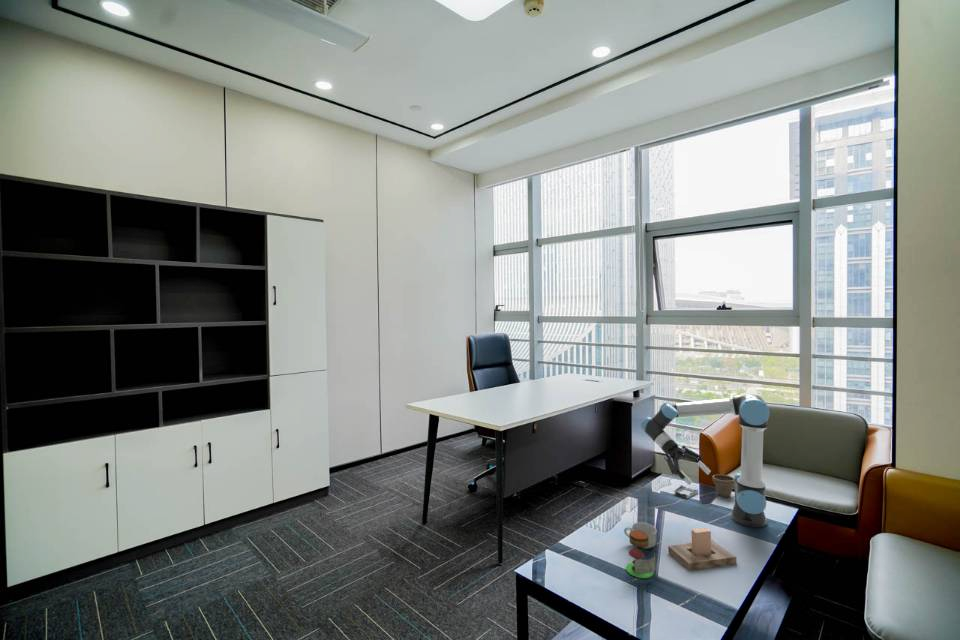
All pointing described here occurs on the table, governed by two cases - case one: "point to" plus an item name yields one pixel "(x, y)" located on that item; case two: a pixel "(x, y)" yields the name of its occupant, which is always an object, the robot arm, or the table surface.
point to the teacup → (645, 528)
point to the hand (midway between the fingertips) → (700, 478)
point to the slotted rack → (693, 562)
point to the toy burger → (640, 556)
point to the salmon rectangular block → (701, 541)
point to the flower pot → (723, 484)
